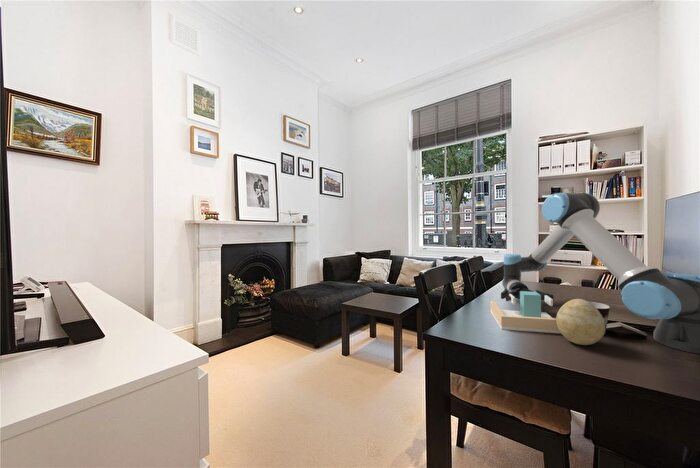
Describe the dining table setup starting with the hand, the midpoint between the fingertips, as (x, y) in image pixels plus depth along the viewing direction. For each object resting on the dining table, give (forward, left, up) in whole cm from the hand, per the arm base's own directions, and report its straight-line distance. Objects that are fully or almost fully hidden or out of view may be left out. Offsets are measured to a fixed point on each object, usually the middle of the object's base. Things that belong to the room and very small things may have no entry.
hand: (532, 301), depth 115 cm
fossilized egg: (-18, -9, -9) cm, 22 cm away
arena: (+1, +2, -8) cm, 9 cm away
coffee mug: (-6, -17, -9) cm, 20 cm away
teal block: (+4, 0, -7) cm, 8 cm away
